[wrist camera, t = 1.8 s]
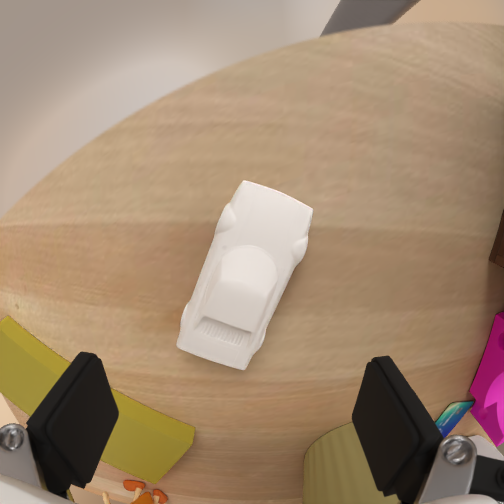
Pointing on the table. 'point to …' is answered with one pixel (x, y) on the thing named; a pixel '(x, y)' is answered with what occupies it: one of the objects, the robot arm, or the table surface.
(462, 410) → the credit card
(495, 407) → the toy block
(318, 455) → the potted cactus
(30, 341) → the flat olive board
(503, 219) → the chest
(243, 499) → the table surface
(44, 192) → the table surface
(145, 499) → the toy figure
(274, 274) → the toy car
